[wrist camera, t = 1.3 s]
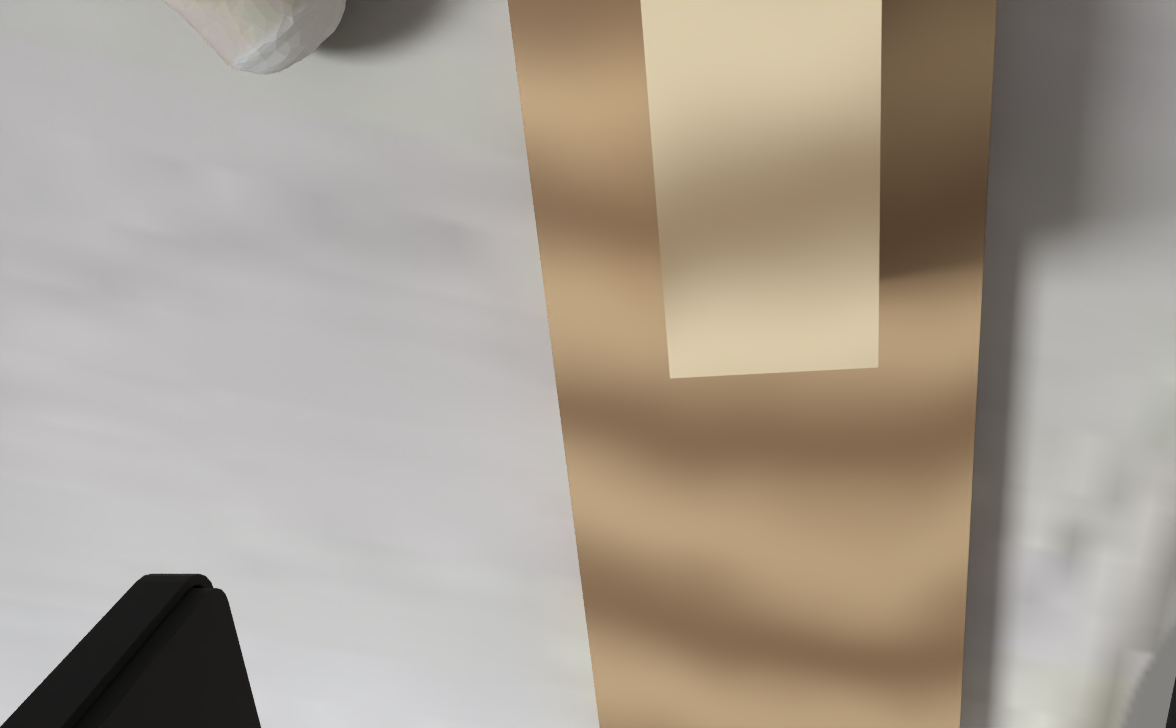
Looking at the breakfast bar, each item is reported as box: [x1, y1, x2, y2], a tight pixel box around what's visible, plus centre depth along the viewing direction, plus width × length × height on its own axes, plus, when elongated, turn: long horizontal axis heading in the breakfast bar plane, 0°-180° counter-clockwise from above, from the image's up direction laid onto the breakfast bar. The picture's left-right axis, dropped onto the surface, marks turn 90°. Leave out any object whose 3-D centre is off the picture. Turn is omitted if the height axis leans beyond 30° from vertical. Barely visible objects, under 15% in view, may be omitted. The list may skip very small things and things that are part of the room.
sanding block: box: [640, 0, 882, 378], centre depth 22 cm, size 8×4×6 cm, turn 6°
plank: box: [508, 0, 997, 728], centre depth 28 cm, size 26×12×2 cm, turn 6°
